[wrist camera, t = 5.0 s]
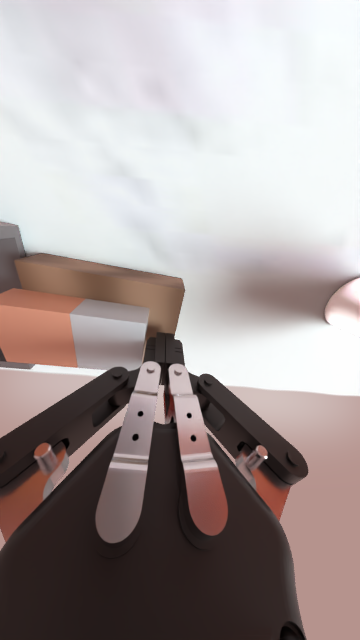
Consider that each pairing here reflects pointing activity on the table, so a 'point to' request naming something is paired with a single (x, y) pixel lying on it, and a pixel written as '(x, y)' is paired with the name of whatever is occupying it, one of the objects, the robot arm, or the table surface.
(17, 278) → the charcoal tray
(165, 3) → the table surface
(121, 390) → the robot arm
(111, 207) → the table surface
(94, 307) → the grey tile
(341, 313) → the beer glass
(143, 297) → the walnut board
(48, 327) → the terracotta tile
